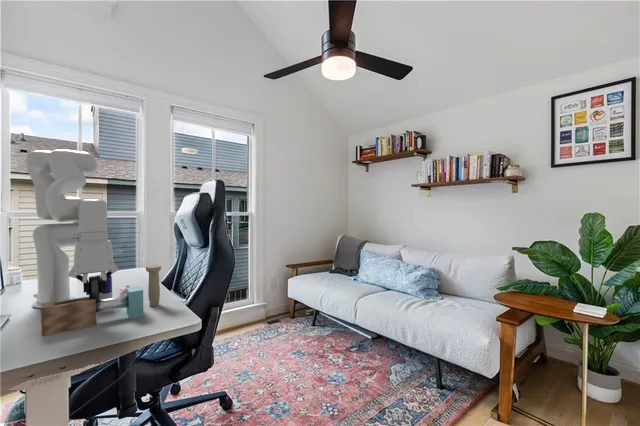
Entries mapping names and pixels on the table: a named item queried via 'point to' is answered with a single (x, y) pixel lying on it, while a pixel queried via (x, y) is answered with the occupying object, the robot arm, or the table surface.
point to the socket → (135, 302)
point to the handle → (153, 284)
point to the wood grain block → (67, 315)
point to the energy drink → (107, 288)
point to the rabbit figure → (123, 290)
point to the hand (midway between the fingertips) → (94, 292)
